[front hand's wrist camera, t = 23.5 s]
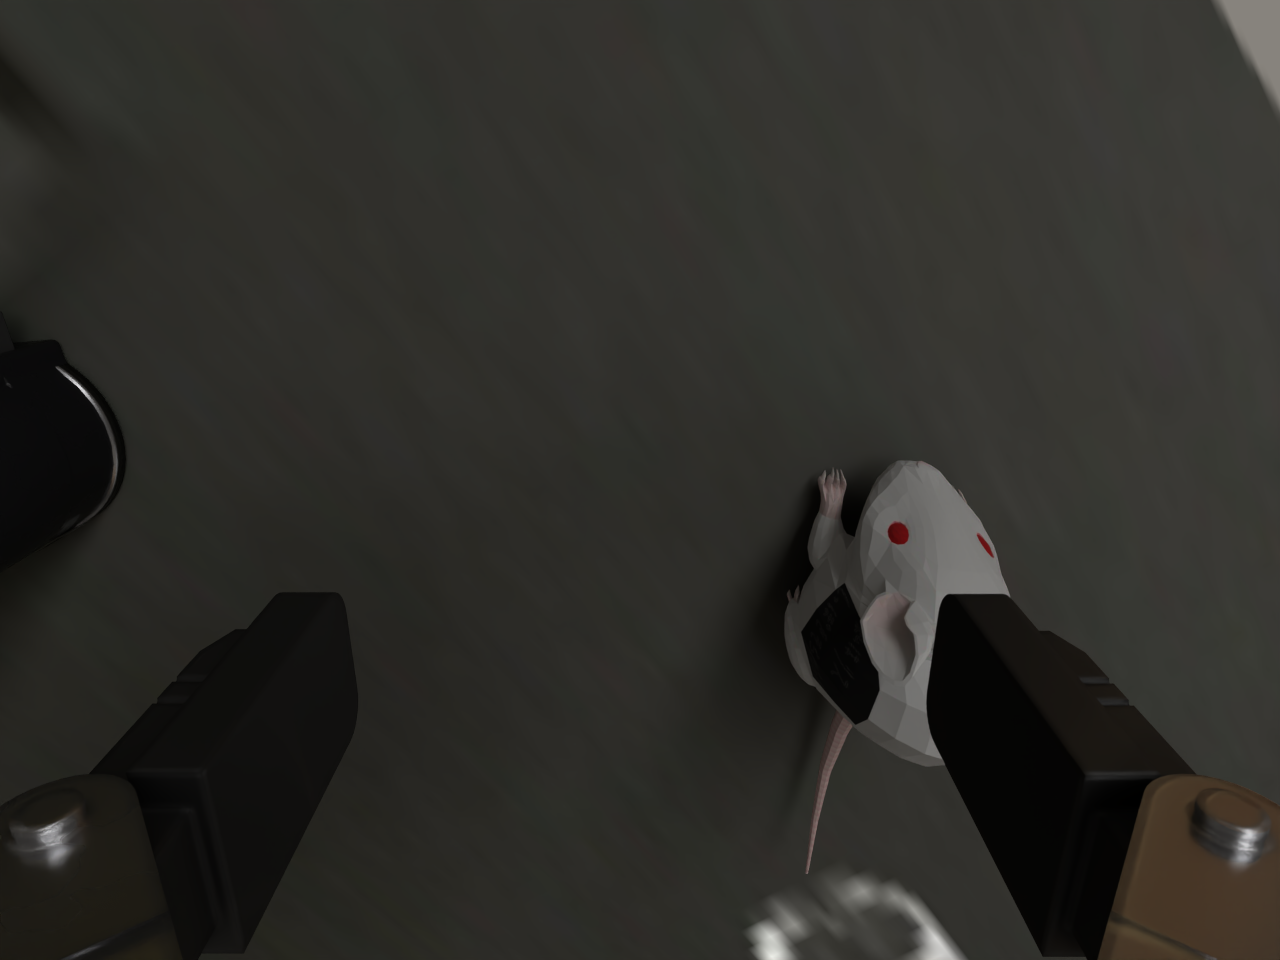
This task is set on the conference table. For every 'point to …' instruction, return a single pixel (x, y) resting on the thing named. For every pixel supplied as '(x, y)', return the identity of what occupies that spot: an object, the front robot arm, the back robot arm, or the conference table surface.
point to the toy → (883, 607)
